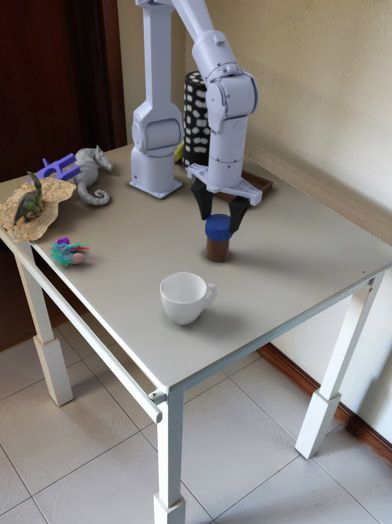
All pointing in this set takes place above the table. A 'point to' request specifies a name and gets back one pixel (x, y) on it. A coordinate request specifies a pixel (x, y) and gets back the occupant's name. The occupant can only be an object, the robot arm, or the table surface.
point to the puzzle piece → (59, 169)
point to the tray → (254, 180)
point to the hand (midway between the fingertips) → (219, 224)
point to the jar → (217, 250)
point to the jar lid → (218, 227)
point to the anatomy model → (66, 247)
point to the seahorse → (90, 174)
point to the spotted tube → (195, 122)
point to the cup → (185, 296)
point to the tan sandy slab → (34, 207)
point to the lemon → (179, 153)
